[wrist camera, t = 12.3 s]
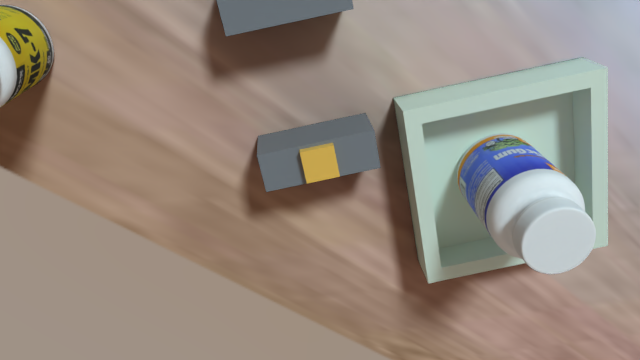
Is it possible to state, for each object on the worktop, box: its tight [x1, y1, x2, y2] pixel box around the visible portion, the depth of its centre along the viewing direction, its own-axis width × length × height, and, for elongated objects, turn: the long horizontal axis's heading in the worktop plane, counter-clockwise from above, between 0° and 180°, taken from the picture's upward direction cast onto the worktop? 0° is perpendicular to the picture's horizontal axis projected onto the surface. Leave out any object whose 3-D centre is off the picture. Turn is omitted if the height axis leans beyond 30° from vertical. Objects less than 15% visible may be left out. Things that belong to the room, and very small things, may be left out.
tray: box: [393, 57, 608, 284], centre depth 39 cm, size 12×12×3 cm
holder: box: [217, 0, 381, 192], centre depth 35 cm, size 12×7×4 cm, turn 11°
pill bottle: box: [457, 133, 596, 274], centre depth 35 cm, size 5×5×10 cm
